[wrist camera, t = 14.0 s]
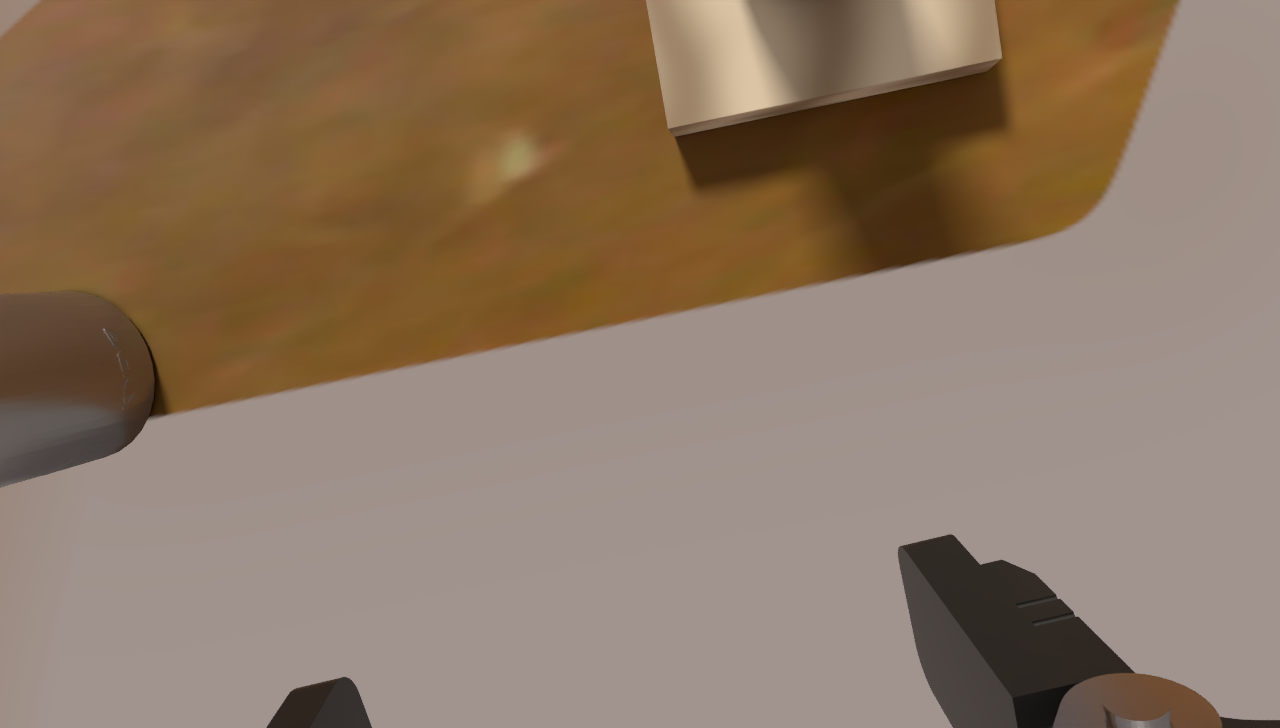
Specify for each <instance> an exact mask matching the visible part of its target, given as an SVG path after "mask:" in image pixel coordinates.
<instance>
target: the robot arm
mask: <svg viewBox="0 0 1280 728" xmlns="http://www.w3.org/2000/svg"><path fill="white" fill-rule="evenodd" d="M154 385H155V379H154V372H153V365H152V361H151V358H150V355H149V352H148V349H147V346H146V344H145V342H144V340H143V338H142V337H141V335H140V333H139V331H138V329H137V328H136V327H135V326H134V324H133V323H132V322H131V321H130V320H129V318H128V317H127V316H126V315H125V314H124V313H122V312H121V311H120V310H119V309H118V308H116V307H115V306H114V305H113V304H111V303H109V302H107V301H105V300H103V299H101V298H100V297H98V296H95V295H91V294H87V293H84V292H73V291H59V292H36V293H14V294H0V488H1V487H4V486H8V485H11V484H14V483H18V482H21V481H25V480H28V479H32V478H35V477H38V476H42V475H46V474H50V473H53V472H56V471H59V470H63V469H66V468H70V467H73V466H77V465H80V464H83V463H86V462H90V461H94V460H97V459H100V458H104V457H106V456H109V455H111V454H114V453H116V452H119V451H120V450H122V449H123V448H124V447H126V446H127V445H128V444H130V443H131V442H132V441H133V440H134V439H135V437H136V436H137V435H138V434H139V433H140V431H141V430H142V429H143V427H144V424H145V423H146V421H147V419H148V417H149V415H150V411H151V407H152V403H153V399H154ZM898 558H899V564H900V570H901V574H902V579H903V584H904V589H905V594H906V599H907V604H908V609H909V613H910V619H911V624H912V628H913V633H914V638H915V643H916V648H917V651H918V655H919V659H920V662H921V665H922V668H923V671H924V673H925V676H926V679H927V681H928V683H929V686H930V688H931V690H932V692H933V694H934V696H935V697H936V699H937V701H938V702H939V704H940V706H941V708H942V709H943V711H944V713H945V714H946V716H947V718H948V719H949V721H950V723H951V725H952V727H953V728H1280V720H1239V719H1232V718H1224V717H1220V716H1219V714H1218V713H1217V711H1216V710H1215V708H1214V707H1213V706H1212V705H1211V704H1210V703H1209V702H1208V701H1207V700H1206V699H1205V698H1204V697H1202V696H1201V695H1199V694H1198V693H1197V692H1195V691H1193V690H1192V689H1190V688H1188V687H1186V686H1184V685H1181V684H1179V683H1176V682H1174V681H1171V680H1168V679H1164V678H1161V677H1156V676H1151V675H1146V674H1136V673H1135V672H1134V671H1133V670H1131V669H1130V667H1128V666H1127V665H1126V663H1125V662H1124V661H1123V660H1122V659H1121V658H1120V657H1118V656H1117V655H1116V654H1115V653H1114V652H1113V651H1112V650H1111V649H1110V648H1109V647H1108V646H1107V645H1106V644H1105V643H1104V642H1103V641H1102V640H1101V639H1100V638H1099V637H1098V636H1097V635H1096V634H1095V633H1094V632H1093V631H1092V630H1091V629H1090V628H1089V627H1088V626H1087V625H1086V624H1085V623H1084V622H1083V621H1082V620H1081V619H1080V618H1079V617H1075V615H1074V612H1073V611H1072V610H1071V609H1070V608H1069V607H1068V606H1067V605H1066V604H1065V603H1064V602H1063V601H1062V600H1061V599H1057V597H1056V594H1055V593H1054V592H1053V591H1052V590H1051V589H1050V588H1049V587H1048V586H1047V585H1046V584H1045V583H1044V582H1043V581H1042V580H1041V579H1040V578H1039V577H1038V576H1037V575H1035V574H1034V573H1031V572H1029V571H1027V570H1025V569H1022V568H1020V567H1018V566H1015V565H1013V564H1011V563H1008V562H1006V561H1003V560H999V561H994V562H990V563H986V564H982V565H980V564H979V563H978V562H977V561H976V560H975V559H974V557H973V556H972V555H971V554H970V553H969V552H968V551H967V550H966V549H965V547H964V546H963V545H962V544H961V543H960V542H959V541H958V540H957V538H956V537H955V536H953V535H946V536H942V537H937V538H933V539H929V540H925V541H920V542H917V543H912V544H908V545H904V546H900V547H899V549H898ZM267 728H372V727H371V724H370V721H369V718H368V716H367V713H366V711H365V708H364V705H363V703H362V700H361V697H360V694H359V692H358V690H357V687H356V686H355V684H354V683H353V682H352V680H350V679H349V678H346V677H342V678H338V679H334V680H330V681H326V682H321V683H317V684H313V685H309V686H305V687H300V688H296V689H294V690H293V691H291V692H290V693H289V695H288V696H287V698H286V699H285V701H284V702H283V704H282V705H281V707H280V708H279V710H278V711H277V713H276V714H275V716H274V717H273V719H272V720H271V722H270V723H269V725H268V726H267Z"/></svg>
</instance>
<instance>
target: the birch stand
mask: <svg viewBox="0 0 1280 728" xmlns="http://www.w3.org/2000/svg"><path fill="white" fill-rule="evenodd" d="M646 3H647V8H648V14H649V20H650V26H651V32H652V37H653V43H654V49H655V55H656V61H657V67H658V72H659V78H660V84H661V90H662V96H663V102H664V107H665V113H666V119H667V125H668V129H669V130H670V132H671V133H672V134H673V135H674V137H676V136H681V135H686V134H690V133H695V132H700V131H705V130H710V129H714V128H719V127H724V126H729V125H734V124H738V123H743V122H748V121H753V120H757V119H762V118H767V117H772V116H777V115H781V114H786V113H791V112H796V111H801V110H805V109H810V108H815V107H820V106H824V105H829V104H834V103H839V102H844V101H848V100H853V99H858V98H863V97H868V96H872V95H877V94H882V93H887V92H891V91H896V90H901V89H906V88H911V87H915V86H920V85H925V84H930V83H935V82H939V81H944V80H949V79H954V78H958V77H963V76H968V75H973V74H978V73H982V72H987V71H988V70H989V69H990V68H992V67H993V66H994V65H995V64H996V63H997V62H998V61H1000V60H1001V59H1002V53H1001V45H1000V38H999V30H998V23H997V15H996V8H995V0H646Z"/></svg>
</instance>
